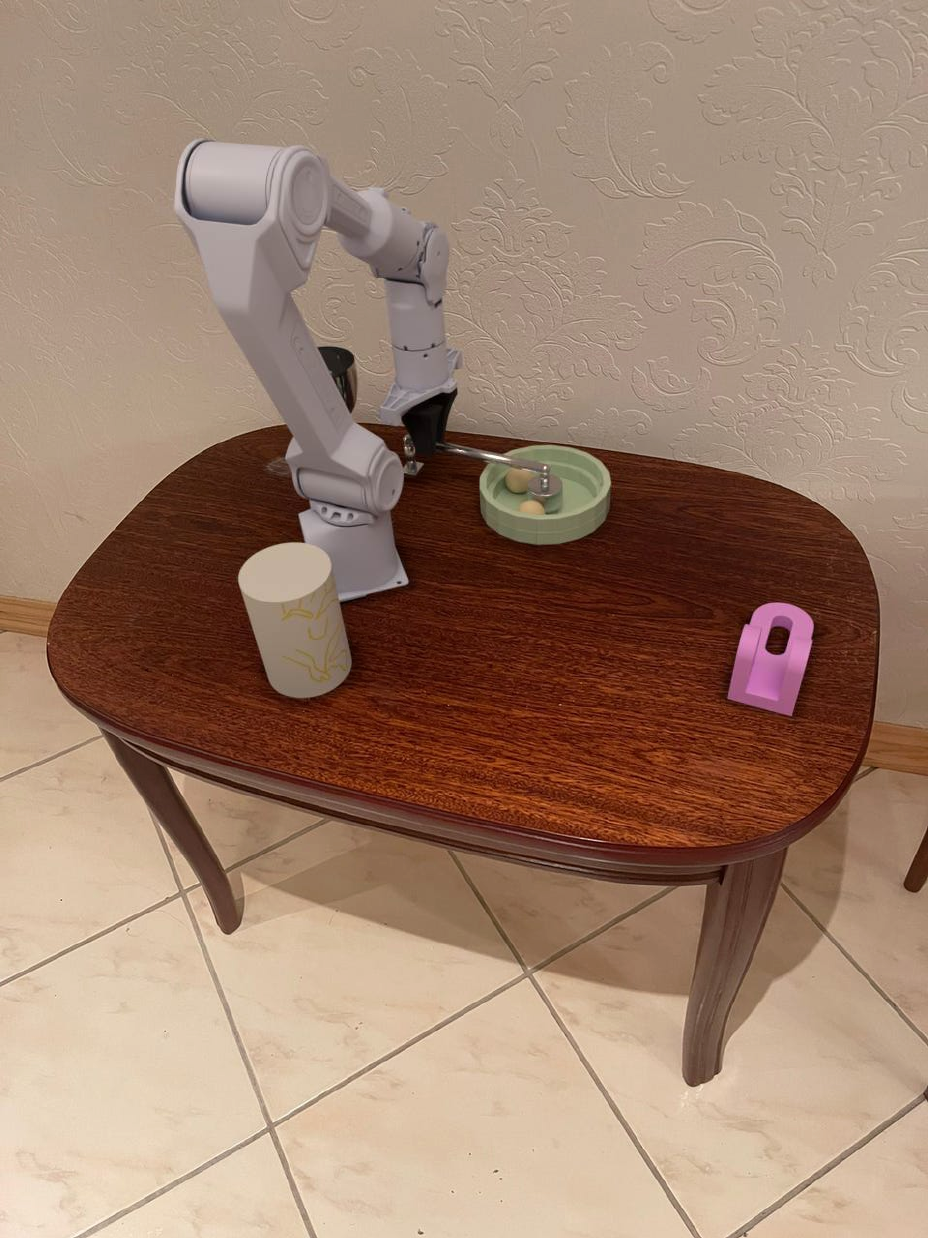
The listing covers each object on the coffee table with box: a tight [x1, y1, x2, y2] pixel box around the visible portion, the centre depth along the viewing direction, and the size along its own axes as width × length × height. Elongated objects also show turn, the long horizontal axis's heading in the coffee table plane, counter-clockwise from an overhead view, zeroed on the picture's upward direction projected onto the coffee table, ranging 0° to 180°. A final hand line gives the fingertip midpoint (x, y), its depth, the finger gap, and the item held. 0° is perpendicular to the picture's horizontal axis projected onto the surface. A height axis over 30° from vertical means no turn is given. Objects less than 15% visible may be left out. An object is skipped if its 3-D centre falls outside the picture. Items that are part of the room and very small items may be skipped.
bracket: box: [726, 602, 815, 717], centre depth 80 cm, size 13×6×7 cm, turn 155°
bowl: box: [479, 444, 612, 546], centre depth 101 cm, size 15×15×4 cm
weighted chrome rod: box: [402, 434, 563, 512], centre depth 101 cm, size 20×4×5 cm, turn 65°
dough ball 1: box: [505, 468, 533, 493], centre depth 103 cm, size 3×3×3 cm
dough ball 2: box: [517, 500, 545, 515], centre depth 98 cm, size 3×3×3 cm
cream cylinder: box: [237, 542, 353, 699], centre depth 82 cm, size 8×8×12 cm
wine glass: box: [317, 345, 359, 415], centre depth 105 cm, size 8×8×15 cm
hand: (429, 450), depth 103 cm, fingers closed on weighted chrome rod
